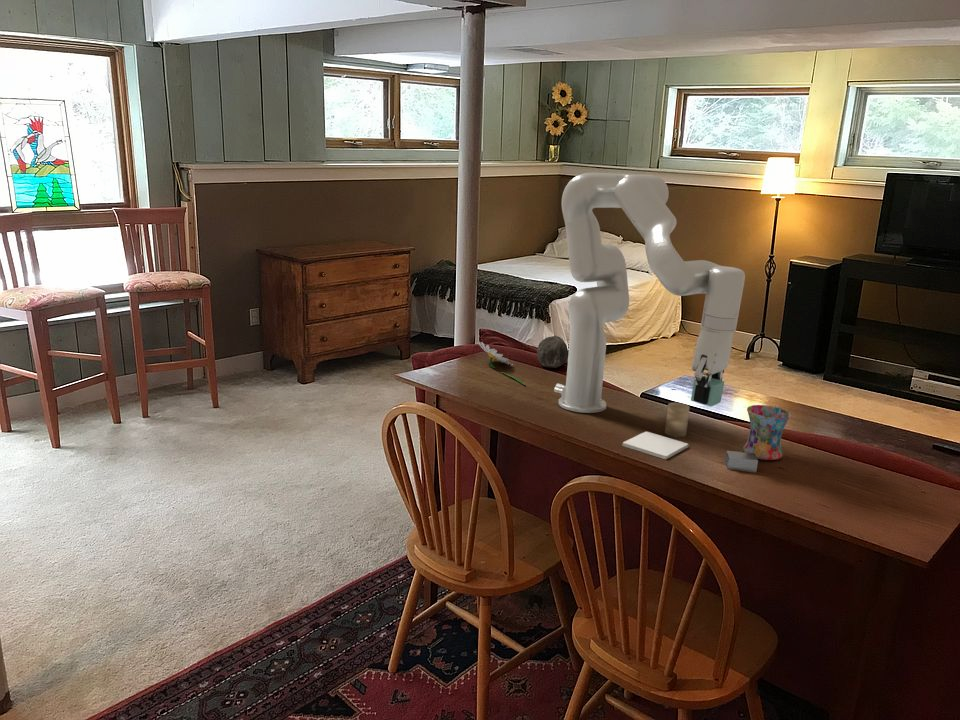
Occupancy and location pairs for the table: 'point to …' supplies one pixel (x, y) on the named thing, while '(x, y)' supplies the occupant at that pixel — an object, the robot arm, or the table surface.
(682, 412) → the cork cylinder
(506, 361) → the flower
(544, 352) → the rock
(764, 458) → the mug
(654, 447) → the coaster
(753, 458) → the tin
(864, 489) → the table surface
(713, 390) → the block
